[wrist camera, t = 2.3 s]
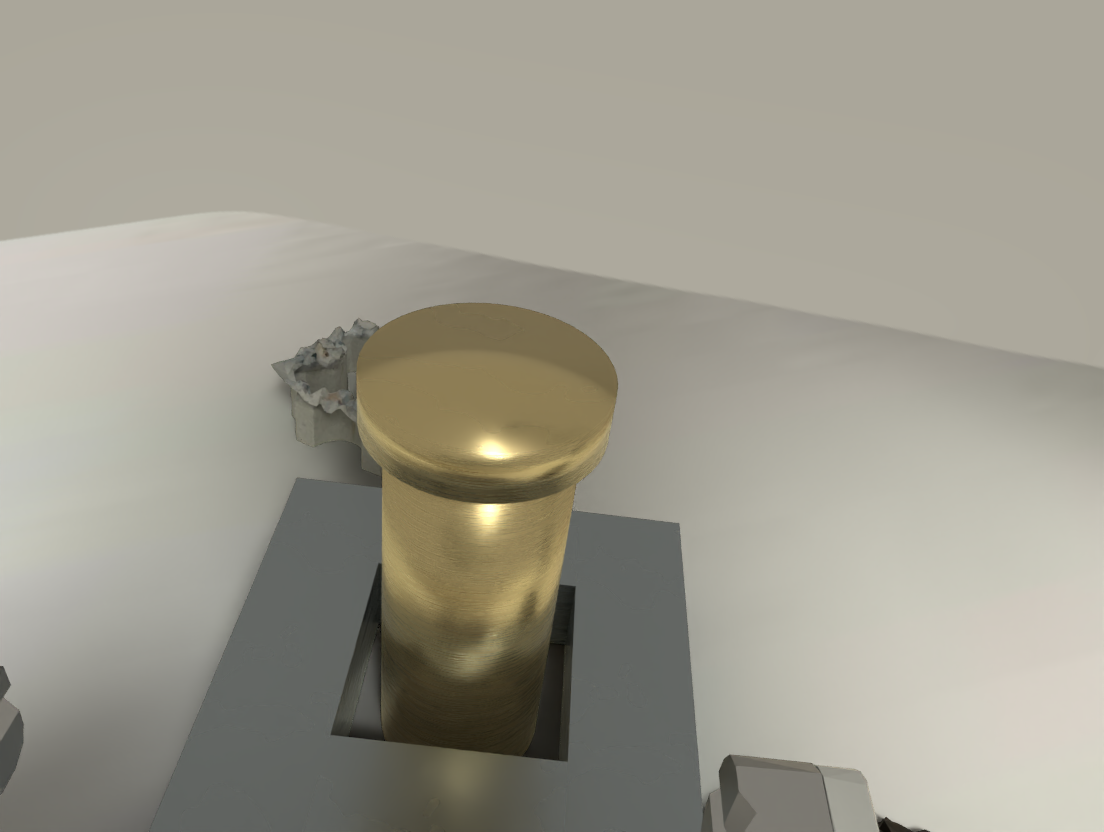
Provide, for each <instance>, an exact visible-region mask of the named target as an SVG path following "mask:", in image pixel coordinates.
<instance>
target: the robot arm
mask: <svg viewBox="0 0 1104 832" xmlns="http://www.w3.org/2000/svg"><path fill="white" fill-rule="evenodd" d="M10 686H11V684H10V682H9V679H8V677H7V674H6V672H5V669H4V667H3V666H0V795H1V794H2V792H3V791H4V789H5V787H6V785H7V783H8V782H9V780H10V778H11V776H12V774H13V772H14V771H15V768H16V765H17V762H18V758H19V755H20V752H21V748H22V745H23V721H22V717H21V714H20V711H19V709H17V708H16V707H15V706H14V705H12V704H11V703H10V702H9V701H7V700H6V699H5V698H4V695H5V694H6V692H7V690H8V689H9V687H10ZM719 780H720V789H718V790H716V791H714V792H712V793H710V795H709V797H708V800H707V803H706V806H705V809H704V812H703V819H702V826H701V832H879V828H878V824H877V820H876V816H875V812H874V808H873V804H872V800H871V796H870V792H869V788H868V784H867V780H866V779H865V777H864V776H863V775H862V773H861V772H860V771H858V770H856V769H850V768H840V767H831V766H821V765H813V763H807V762H797V761H788V760H778V759H769V758H759V757H750V756H740V755H731V754H730V755H728V756H727V757H726V758H724V760H723V763H722V765H721V767H720V770H719Z"/></svg>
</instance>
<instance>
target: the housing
mask: <svg viewBox="0 0 1104 832" xmlns="http://www.w3.org/2000/svg"><path fill="white" fill-rule="evenodd" d="M378 623H382V488H379V487H371V486H362V485H354V484H346V483H337V482H329V481H321V480H312V479H304V478H297V480H296V482H295V484H294V487H293V489H292V492H291V494H290V496H289V499H288V501H287V503H286V506H285V508H284V511H283V513H282V515H281V518H280V520H279V523H278V525H277V527H276V530H275V532H274V534H273V537H272V539H271V542H270V544H269V546H268V549H267V551H266V554H265V556H264V558H263V561H262V563H261V565H260V568H259V570H258V573H257V575H256V577H255V580H254V582H253V585H252V587H251V589H250V592H249V594H248V596H247V599H246V601H245V604H244V606H243V608H242V611H241V613H240V616H239V618H238V620H237V623H236V625H235V627H234V630H233V632H232V635H231V637H230V639H229V642H228V644H227V646H226V649H225V651H224V654H223V656H222V658H221V661H220V663H219V666H218V668H217V670H216V673H215V675H214V677H213V680H212V682H211V685H210V687H209V689H208V692H207V694H206V697H205V699H204V701H203V704H202V706H201V708H200V711H199V713H198V716H197V718H196V720H195V723H194V725H193V728H192V730H191V732H190V735H189V737H188V739H187V742H186V744H185V747H184V749H183V751H182V754H181V756H180V759H179V761H178V763H177V766H176V768H175V770H174V773H173V775H172V778H171V780H170V782H169V785H168V787H167V790H166V792H165V794H164V797H163V799H162V801H161V804H160V806H159V809H158V811H157V813H156V816H155V818H154V820H153V823H152V825H151V828H150V830H149V832H701V826H702V819H703V810H702V798H701V785H700V773H699V761H698V748H697V736H696V724H695V711H694V699H693V687H692V674H691V662H690V650H689V637H688V625H687V613H686V600H685V588H684V576H683V563H682V551H681V539H680V526H679V523H672V522H663V521H655V520H647V519H638V518H630V517H621V516H613V515H605V514H596V513H588V512H580V511H572V512H571V518H570V524H569V530H568V536H567V542H566V548H565V554H564V560H563V566H562V572H561V578H560V584H559V590H558V595H557V601H556V607H555V613H554V619H553V625H552V631H551V637H550V643H554V644H562V645H565V653H564V672H563V691H562V709H561V728H560V747H559V761H555V760H547V759H538V758H529V757H520V756H511V755H503V754H494V753H485V752H476V751H467V750H458V749H450V748H441V747H432V746H423V745H414V744H405V743H397V742H388V741H379V740H370V739H361V738H353V737H349V733H350V729H351V726H352V722H353V718H354V714H355V710H356V706H357V703H358V699H359V695H360V691H361V687H362V684H363V680H364V676H365V672H366V668H367V664H368V661H369V657H370V653H371V649H372V645H373V642H374V638H375V634H376V630H377V626H378Z"/></svg>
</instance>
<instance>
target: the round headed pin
mask: <svg viewBox="0 0 1104 832" xmlns="http://www.w3.org/2000/svg"><path fill="white" fill-rule="evenodd" d="M356 380H357V426H358V431H359V435H360V438H361V440H362V443H363V445H364V447H365V448H366V450H367V451H368V453H369V454H370V456H371V457H372V458H373V459H374V460H375V461H376V462H377V463H378V464H379V465H380V466H381V467H382V625H381V725H382V731H383V735H384V738H385V740H386V741H388V742H397V743H405V744H414V745H423V746H432V747H441V748H450V749H458V750H467V751H476V752H485V753H494V754H503V755H511V756H520V757H522V756H523V754H524V753H525V752H526V750H527V749H528V747H529V745H530V743H531V741H532V738H533V735H534V732H535V727H536V721H537V715H538V709H539V703H540V697H541V691H542V685H543V679H544V673H545V667H546V661H547V655H548V649H549V643H550V637H551V631H552V625H553V619H554V613H555V607H556V601H557V595H558V590H559V584H560V578H561V572H562V566H563V560H564V554H565V548H566V542H567V536H568V530H569V524H570V518H571V512H572V506H573V500H574V494H575V488H576V483H578V482H579V481H581V480H582V479H583V478H585V477H586V476H587V475H588V474H590V473H591V472H592V471H593V469H594V468H595V467H596V466H597V465H598V464H599V462H600V460H601V459H602V457H603V455H604V453H605V451H606V448H607V445H608V440H609V434H610V429H611V424H612V418H613V413H614V408H615V402H616V397H617V390H618V381H617V374H616V372H615V369H614V366H613V364H612V362H611V361H610V359H609V357H608V356H607V355H606V353H605V352H604V351H603V350H602V348H601V347H600V346H599V345H597V344H596V343H595V342H594V341H593V340H592V339H591V338H589V337H588V336H587V335H585V334H584V333H583V332H581V331H579V330H578V329H576V328H574V327H573V326H571V325H569V324H567V323H565V322H562V321H560V320H558V319H556V318H553V317H550V316H548V315H545V314H542V313H539V312H535V311H532V310H528V309H523V308H519V307H514V306H507V305H501V304H490V303H456V304H447V305H439V306H434V307H429V308H425V309H421V310H417V311H414V312H411V313H408V314H406V315H403V316H401V317H399V318H397V319H395V320H393V321H391V322H389V323H387V324H386V325H384V326H383V327H381V328H380V329H378V330H377V331H376V332H375V333H374V334H373V335H372V336H371V337H370V338H369V339H368V340H367V342H366V343H365V344H364V346H363V348H362V349H361V351H360V353H359V357H358V360H357V370H356Z"/></svg>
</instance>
